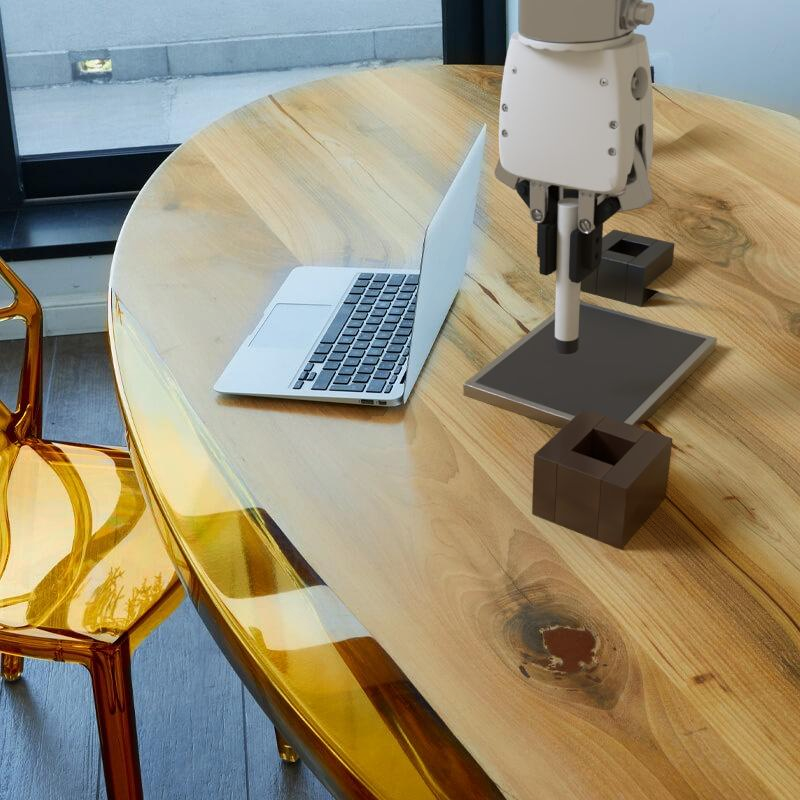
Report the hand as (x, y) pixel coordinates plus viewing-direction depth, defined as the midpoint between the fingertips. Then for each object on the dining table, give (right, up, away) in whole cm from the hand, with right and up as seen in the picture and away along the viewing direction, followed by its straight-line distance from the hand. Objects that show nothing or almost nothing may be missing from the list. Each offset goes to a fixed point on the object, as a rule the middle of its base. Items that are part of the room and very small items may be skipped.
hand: (568, 270), depth 80 cm
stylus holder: (+9, +1, +23) cm, 25 cm away
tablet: (+4, -7, +10) cm, 13 cm away
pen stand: (+1, -17, -5) cm, 18 cm away
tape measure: (+6, +11, +40) cm, 42 cm away
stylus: (0, -6, +3) cm, 7 cm away
